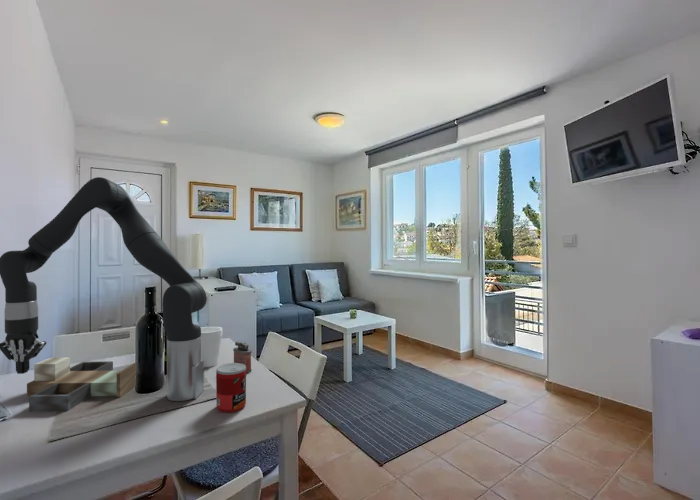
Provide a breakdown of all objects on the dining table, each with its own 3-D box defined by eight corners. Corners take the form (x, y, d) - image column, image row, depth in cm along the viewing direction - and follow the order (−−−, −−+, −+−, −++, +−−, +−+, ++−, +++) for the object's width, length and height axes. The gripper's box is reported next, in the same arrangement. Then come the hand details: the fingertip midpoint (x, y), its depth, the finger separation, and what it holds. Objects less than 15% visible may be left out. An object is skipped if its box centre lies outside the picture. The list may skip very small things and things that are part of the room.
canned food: (237, 414, 94) (237, 373, 94) (210, 411, 96) (210, 371, 96) (251, 402, 102) (251, 363, 102) (225, 399, 103) (225, 361, 103)
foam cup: (216, 368, 128) (216, 332, 128) (190, 368, 128) (190, 332, 128) (226, 360, 138) (226, 326, 137) (202, 359, 138) (202, 326, 137)
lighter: (253, 371, 126) (253, 343, 126) (246, 374, 123) (246, 345, 123) (238, 366, 130) (238, 339, 130) (230, 369, 127) (230, 341, 127)
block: (70, 373, 112) (69, 357, 112) (55, 380, 106) (55, 364, 106) (50, 373, 112) (50, 357, 112) (34, 380, 106) (34, 364, 106)
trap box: (154, 372, 124) (154, 352, 124) (102, 410, 96) (102, 384, 96) (74, 373, 123) (73, 353, 123) (-2, 411, 95) (-3, 385, 95)
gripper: (54, 313, 112) (54, 368, 113) (10, 313, 111) (11, 368, 112) (34, 318, 105) (35, 377, 105) (-14, 319, 104) (-13, 377, 104)
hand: (22, 372), depth 108 cm, fingers closed
